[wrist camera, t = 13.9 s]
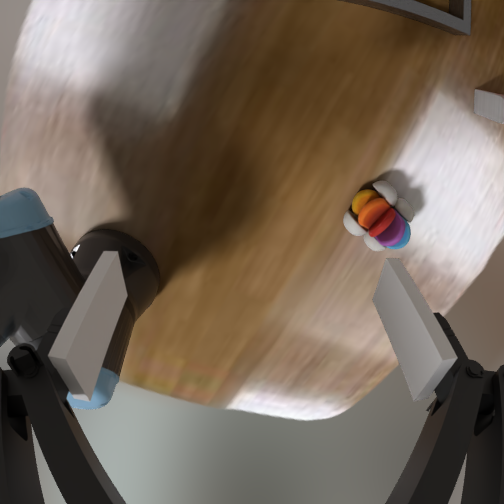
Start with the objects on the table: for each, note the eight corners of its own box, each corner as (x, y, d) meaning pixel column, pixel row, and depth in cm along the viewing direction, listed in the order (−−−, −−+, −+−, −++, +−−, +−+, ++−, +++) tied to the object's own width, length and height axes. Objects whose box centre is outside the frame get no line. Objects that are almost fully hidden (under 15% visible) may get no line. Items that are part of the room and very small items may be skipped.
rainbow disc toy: (373, 167, 40) (394, 188, 34) (413, 208, 43) (436, 233, 37) (331, 212, 44) (346, 239, 37) (375, 247, 47) (392, 276, 41)
